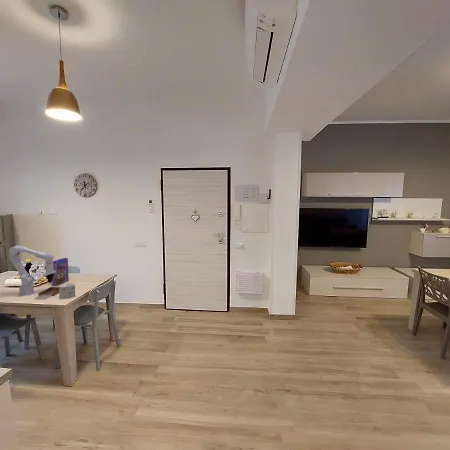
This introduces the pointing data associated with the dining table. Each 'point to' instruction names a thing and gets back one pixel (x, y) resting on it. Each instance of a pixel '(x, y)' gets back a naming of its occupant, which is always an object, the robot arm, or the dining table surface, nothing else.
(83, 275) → the dining table surface
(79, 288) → the dining table surface
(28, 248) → the robot arm
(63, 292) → the light bulb box
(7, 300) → the dining table surface
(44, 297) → the cover plate
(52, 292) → the walnut box
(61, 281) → the cereal box
